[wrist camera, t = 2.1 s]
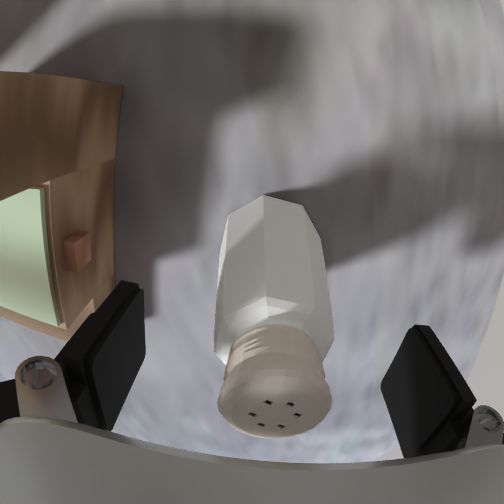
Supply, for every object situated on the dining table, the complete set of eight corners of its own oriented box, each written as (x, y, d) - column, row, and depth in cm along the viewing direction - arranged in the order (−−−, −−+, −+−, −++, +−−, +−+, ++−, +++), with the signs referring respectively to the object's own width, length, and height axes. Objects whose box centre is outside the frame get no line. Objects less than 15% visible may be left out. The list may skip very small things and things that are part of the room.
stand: (1, 97, 13) (-110, 113, 5) (133, 86, 14) (2, 67, 5) (14, 293, 19) (-57, 364, 10) (126, 325, 20) (66, 435, 11)
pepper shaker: (259, 172, 15) (250, 276, 5) (340, 234, 16) (425, 388, 6) (200, 252, 17) (131, 414, 7) (278, 303, 18) (286, 476, 8)
